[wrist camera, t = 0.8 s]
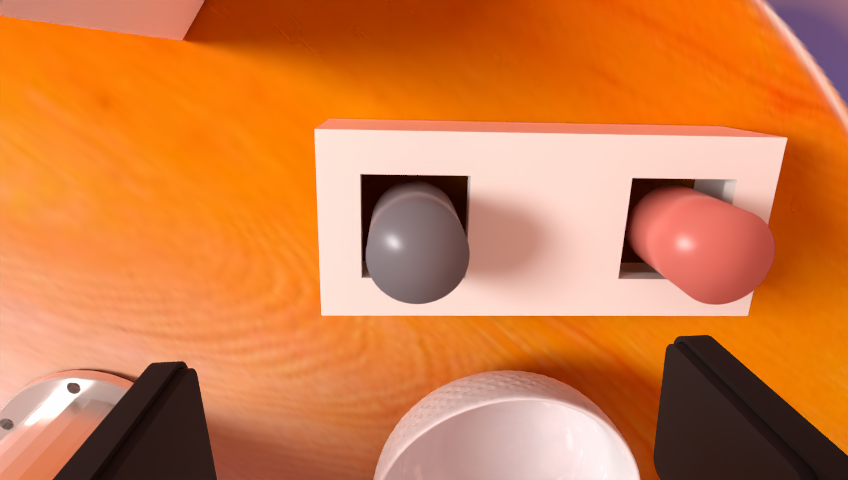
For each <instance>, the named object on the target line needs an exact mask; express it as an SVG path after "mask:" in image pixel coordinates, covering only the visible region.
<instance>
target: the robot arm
mask: <svg viewBox="0 0 848 480" xmlns="http://www.w3.org/2000/svg"><path fill="white" fill-rule="evenodd" d="M654 464H655V468H656V471H657V473H658V475H659V477H660V479H661V480H848V456H847V455H846V454H845V453H844V452H843V451H842V450H841V449H839V448H838V447H837V446H836V445H835V444H834V443H833V442H831V441H830V440H829V439H828V438H827V437H826V436H824V435H823V434H822V433H821V432H820V431H819V430H818V429H816V428H815V427H814V426H813V425H812V424H811V423H810V422H808V421H807V420H806V419H805V418H804V417H803V416H802V415H800V414H799V413H798V412H797V411H796V410H795V409H794V408H792V407H791V406H790V405H789V404H788V403H787V402H786V401H784V400H783V399H782V398H781V397H780V396H779V395H778V394H776V393H775V392H774V391H773V390H772V389H771V388H770V387H768V386H767V385H766V384H765V383H764V382H763V381H762V380H760V379H759V378H758V377H757V376H756V375H755V374H754V373H752V372H751V371H750V370H749V369H748V368H747V367H746V366H744V365H743V364H742V363H741V362H740V361H739V360H738V359H736V358H735V357H734V356H733V355H732V354H731V353H730V352H728V351H727V350H726V349H725V348H724V347H723V346H722V345H720V344H719V343H718V342H717V341H716V340H715V339H713V338H712V337H711V336H709V335H698V336H679V337H677V338H676V340H675V341H674V344H669V345H668V346H667V348H666V353H665V362H664V371H663V379H662V388H661V396H660V405H659V414H658V422H657V431H656V439H655V448H654ZM0 480H217V478H216V472H215V467H214V462H213V456H212V451H211V446H210V440H209V435H208V430H207V424H206V419H205V414H204V408H203V403H202V398H201V392H200V387H199V382H198V376H197V373H196V371H195V369H193V368H189V369H188V367H187V365H186V363H184V362H183V361H180V362H161V363H152V364H150V365H149V366H148V367H147V369H146V370H145V371H144V372H143V373H142V374H141V376H140V377H139V378H138V379H137V380H136V381H135V383H133V382H131V381H129V380H126V379H124V378H121V377H118V376H115V375H112V374H108V373H103V372H98V371H89V370H71V371H63V372H56V373H53V374H50V375H47V376H44V377H40V378H39V379H37V380H35V381H33V382H31V383H29V384H28V385H26V386H25V387H24V388H22V389H21V390H20V391H19V392H17V393H16V394H15V395H14V396H12V397H11V398H10V400H9V401H8V402H7V403H6V404H5V405H4V406H3V407H2V408H1V410H0Z"/></svg>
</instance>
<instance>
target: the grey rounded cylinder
mask: <svg viewBox="0 0 848 480" xmlns="http://www.w3.org/2000/svg"><path fill="white" fill-rule="evenodd" d="M469 258H470V250H469V244H468V241H467V237H466V235H465V233H464V230H463V228H462V225H461V223H460V220H459V218H458V216H457V213H456V211H455V208H454V206H453V204H452V202H451V200H450V199H449V197H448V196H447V195H446V194H445V193H444V192H443V191H442V190H440V189H439V188H438V187H436V186H434V185H432V184H429V183H426V182H422V181H407V182H403V183H400V184H397V185H395V186H393V187H391V188H390V189H388V190H387V191H386V192H385V193H384V194H383V195H382V196H381V197H380V198H379V200H378V201H377V203H376V205H375V207H374V210H373V214H372V219H371V225H370V230H369V236H368V242H367V247H366V264H367V268H368V271H369V274H370V276H371V278H372V280H373V281H374V283H375V284H376V285H377V287H378V288H379V289H380V290H381V291H382V292H384V293H385V294H386V295H388V296H389V297H391V298H393V299H395V300H397V301H400V302H404V303H409V304H425V303H430V302H434V301H437V300H439V299H441V298H443V297H445V296H447V295H448V294H449V293H451V292H452V291H453V290H454V289H455V288H456V287H457V286H458V285H459V284H460V282H461V281H462V279H463V278H464V276H465V274H466V271H467V268H468V265H469Z"/></svg>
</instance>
